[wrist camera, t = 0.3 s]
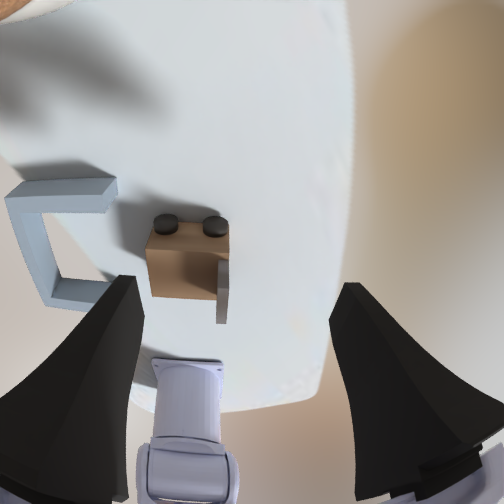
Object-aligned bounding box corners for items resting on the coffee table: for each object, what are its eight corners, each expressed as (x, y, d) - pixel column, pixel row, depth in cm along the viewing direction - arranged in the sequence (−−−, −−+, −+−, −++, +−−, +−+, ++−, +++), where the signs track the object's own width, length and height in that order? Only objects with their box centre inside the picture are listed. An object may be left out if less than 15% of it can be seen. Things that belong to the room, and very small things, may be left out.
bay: (134, 294, 23) (128, 316, 21) (55, 286, 22) (45, 306, 20) (116, 177, 16) (102, 194, 14) (22, 181, 15) (4, 197, 13)
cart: (224, 275, 22) (225, 334, 18) (160, 271, 21) (147, 329, 17) (229, 216, 19) (230, 273, 14) (155, 212, 18) (133, 267, 14)
